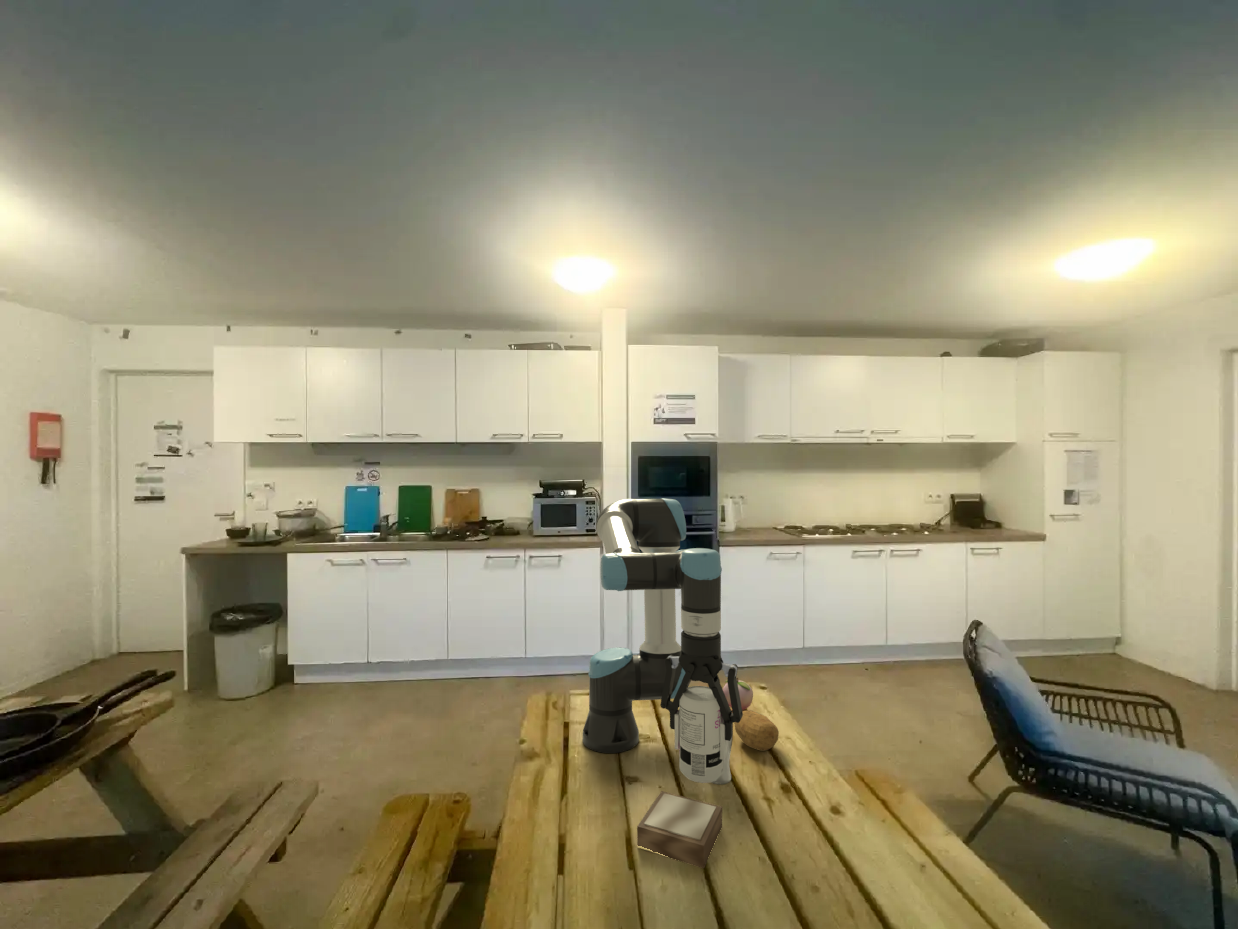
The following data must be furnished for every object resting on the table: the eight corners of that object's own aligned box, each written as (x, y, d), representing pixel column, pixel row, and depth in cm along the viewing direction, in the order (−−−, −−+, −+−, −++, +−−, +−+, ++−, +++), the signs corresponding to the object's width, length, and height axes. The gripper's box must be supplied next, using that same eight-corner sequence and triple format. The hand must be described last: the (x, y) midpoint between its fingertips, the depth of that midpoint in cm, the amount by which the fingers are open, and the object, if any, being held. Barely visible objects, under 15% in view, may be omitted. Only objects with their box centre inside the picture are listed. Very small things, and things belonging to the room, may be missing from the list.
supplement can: (675, 762, 106) (675, 685, 106) (716, 759, 107) (716, 684, 107) (684, 786, 98) (684, 703, 98) (728, 783, 99) (728, 701, 99)
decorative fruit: (759, 710, 164) (758, 677, 164) (746, 719, 157) (745, 685, 158) (731, 702, 170) (731, 670, 170) (717, 710, 164) (717, 677, 164)
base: (637, 848, 102) (637, 825, 102) (661, 810, 114) (661, 789, 114) (703, 868, 97) (703, 844, 97) (722, 826, 108) (722, 805, 109)
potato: (754, 731, 150) (754, 702, 150) (788, 755, 137) (788, 723, 137) (724, 738, 146) (724, 708, 147) (756, 762, 133) (756, 730, 134)
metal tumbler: (736, 773, 128) (735, 709, 129) (729, 788, 122) (728, 721, 123) (707, 767, 131) (707, 704, 132) (699, 781, 125) (699, 715, 125)
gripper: (642, 629, 104) (642, 748, 103) (752, 644, 95) (753, 774, 95) (655, 619, 111) (655, 731, 110) (760, 632, 102) (760, 753, 102)
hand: (700, 750), depth 103 cm, fingers closed on supplement can, 8 cm apart
